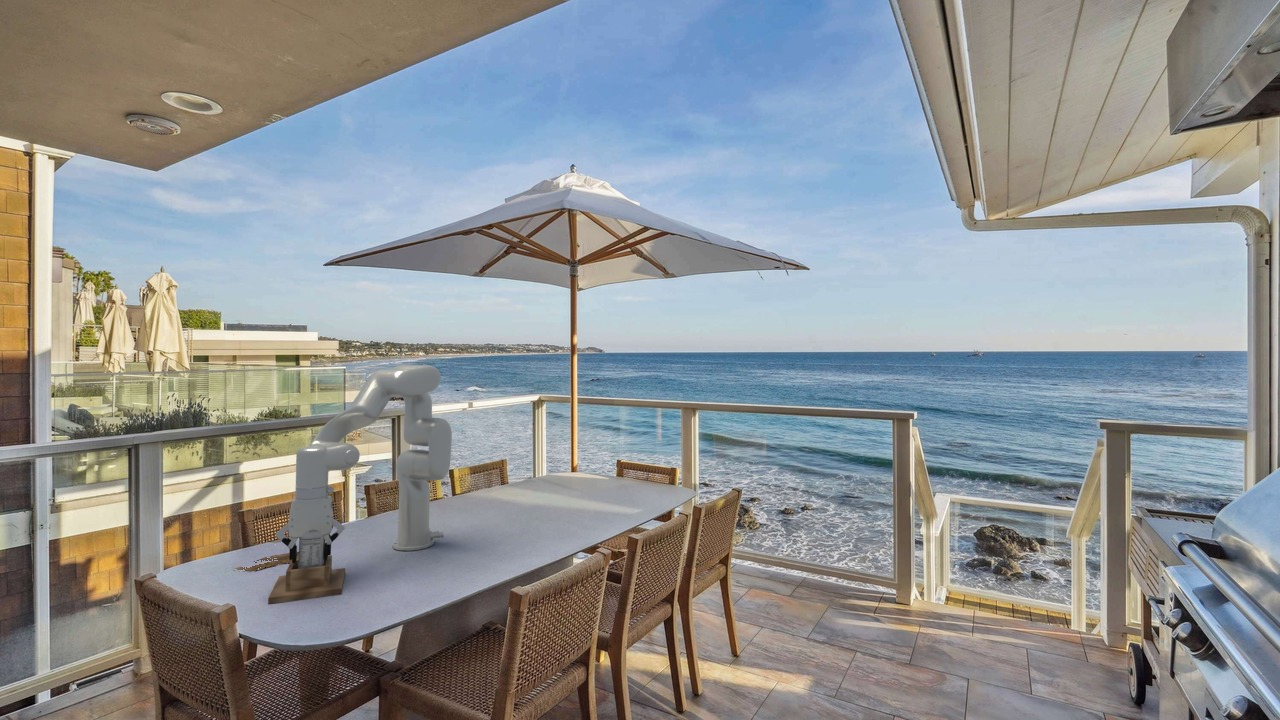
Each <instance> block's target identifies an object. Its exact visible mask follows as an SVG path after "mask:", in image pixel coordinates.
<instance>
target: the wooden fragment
mask: <svg viewBox="0 0 1280 720" xmlns="http://www.w3.org/2000/svg"><path fill="white" fill-rule="evenodd" d="M267 557H268V556H266V557H262V558H260V559H257V560H254V561H253V562H255V561H259V560H261V562H262V560H263V561H264V560H265V561H268V560H269V561H271V562H267V563H264V564H259V565H255V566H252V567H250V568H247V567H246V569H245V567H244V568H243V567H241V566H238V567H234V568H233V569H237V570H243V569H244V570H245V571H250V572H251V571H255V572H257V571H256V570H258V568H259V570H258V571H261V570H263V569H268V568H273V567H276V566H279V565H278V564H282V565H285V563H288V564H290V562H291V560H289V552H287V553H280V554H274V555H271V556H269V557H270V558H271V559H270V558H267ZM298 557H299V551H297V559H298ZM274 558H277V559H274ZM267 559H268V560H267ZM272 559H273V561H272ZM274 560H278V561H274ZM255 563H257V562H255ZM272 566H273V567H272ZM260 567H261V568H260ZM265 567H266V568H265ZM267 567H268V568H267ZM245 571H244V572H245Z"/></svg>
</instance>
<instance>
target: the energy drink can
mask: <svg viewBox="0 0 1280 720" xmlns="http://www.w3.org/2000/svg"><path fill="white" fill-rule="evenodd" d="M298 539H299V540H298V552H299V557H298V569H302V568H311V567H320V566H324V546H325V543H326V541H325V539H324V538H323V535H321V532H319V531H317V530H315V529H310V530H308V531H306V532H305V533H304V534H303V535H302V537H301V538H298Z"/></svg>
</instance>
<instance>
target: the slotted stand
mask: <svg viewBox="0 0 1280 720" xmlns="http://www.w3.org/2000/svg"><path fill="white" fill-rule="evenodd" d="M332 565H333V555H332V554H331V555H328V559H327V560H325V559H324V566H320V567H311V568H302V569H298V559H297V560H296V562H295V563H294V564H292V560H291V562H290V563H288V566H287V569H286V571H285V575H279V576H278V577H277V579H276V582H275V584H274V586H273V587H272V590H271V592H270V594H269V596H268V597H267V599H268V601H267V603H268V605H271V604H279V603H286V602H294V601H293V600H295V601H300V600H299V599H302V600H307V599H308V600H309V599H316V598H323V597H329V596H330V597H331V596H338V595H342V593H343V587H344V581H345V576H346V568H336V569H332V567H333V566H332Z"/></svg>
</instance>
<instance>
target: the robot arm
mask: <svg viewBox="0 0 1280 720" xmlns="http://www.w3.org/2000/svg"><path fill="white" fill-rule="evenodd" d="M441 379H442V377H441V373H440V371H439V369H438V368H437V367H436V366H433V365H428V364H427V365H426V364H423V365H421V364H400V365H397V366H394V367H392V369H379V370H375V371H373V372H372V373H371V374H370V376H369V377H368V378H367V380H366V381H365V383H364V384H363V386H362V388H361V389H360V391H359V392H358V393H357V395H356V397H355V398H354V399H353V401H352V403H351V404H350V405H349V406H348V408H347V409H345V410H343V411H342V412H340V413H339V414H337V415H336V416H334V417H333V418H332V419H330V420H329V421H327V422H326V423H325V424H323V426H322V427H321V429H319V431H318V432H317V434H316V435H315V436H314V438H313V439H312V441H311V443H310V444H309V446H308V445H307V446H303V447H300V448H298V449H297V452H296V456H295V458H296V461H295V493H294V494H295V495H294V496H295V497H294V498H293V499H292V500H291V505H290V510H289V516H288V517H289V518H288V523H287V524H286V525H284V526H283V527H282V528H281V529H280V530H278V531H277V532H276V533H275V537H276V538H277V539H278V540H279V541H281V542H282V544H283V545H285V546H286V547H288V550H289V552H288V553H289V560H292V564H294V563H295V562H296V560H297V552H298V545H297V544H296V543H297V541H298V539H299V538H301V537H302V535H303V534H304V533H305V532H306V531H308V530H310V529H315V530H317V531H319V532H321V535H323V538H324V539H325V546H324V559H325V560H327V559H328V556H331V555H332V543H333V542H334V541H335V540H336V539H337V538H338V537H339V536H340V535H341V534H342V533H343V531H344V530H345V526H344V525H343V524H342V523H340V522H339V521H337V520H336V519H335V518H334V507H333V499H332V498H333V497H332V495H329V494H331V493H334V492H335V487H334V486H329V472H331V471H346V470H349V469H352V468H353V467H354V466H356V465H358V462H359V460H360V457H361V456H360V455H361V454H360V450H359V449H358V448H357V446H355V445H353V444H351V443H347V442H341V440H343V439H344V438H345V437H346V436H348V435H349V434H351V433H353V432H355V431H358V430H360V429H363V428H366V427H368V426H371V425H373V424H374V423H376V422H377V421H378V420H379V418H380V416H381V415H382V413H383V411H384V410H385V408H386V407H387V405H388V403H389V402H390V400H391V399H392V398H403V401H404V420H403V421H404V422H403V440H404V441H405V442H406V443H407V444H408V445H410V446H411V445H412V446H416V447H417V446H420V447H428V449H418V448H417V449H407V450H405V451H403V452H401V453H400V454H399V455H398V457H397V459H396V464H395V465H396V467H395V468H396V473H397V479H398V523H397V524H398V525H397V527H398V528H397V529H398V530H397V531H398V532H397V533H398V535H397V540H395V541H394V542H393V543H392V549H395V550H397V551H403V552H404V551H405V552H406V551H418V550H423V549H427V548H430V547H431V546H433V545H434V541H435V540H434V539H436V538H437V539H441V538H442V539H443V538H444V533H445V532H444V531H440V530H434V531H432V530H431V529H430V506H431V505H430V501H431V500H430V497H431V493H430V492H431V489H430V486H429V483H428V481H437V482H438V481H441V480H443V479H445V478H446V477H447V475H448V473H449V471H450V466H451V457H452V455H451V454H452V440H453V431H452V427H451V425H450V422H448V421H447V420H446V419H444V418H441V417H433V402H432V397H431V395H430V392H433V391H435V390H436V389H437V388H439V385H440V383H441ZM333 528H336V529H337V530H336V531H335V532H334V533H332V531H333ZM286 532H288V536H286V535H285V533H286ZM331 533H332V534H331Z"/></svg>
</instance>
